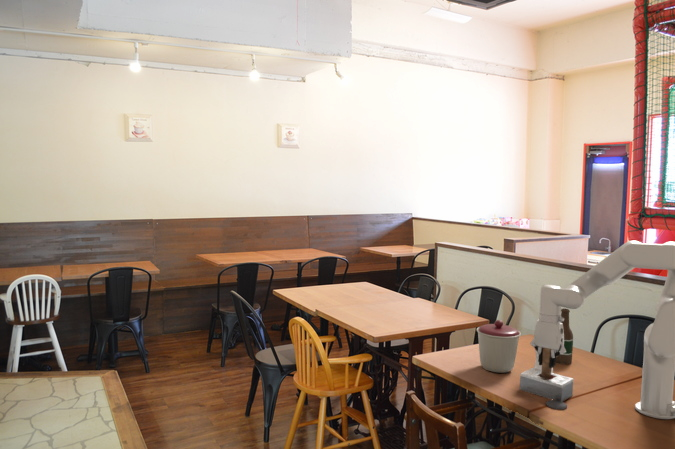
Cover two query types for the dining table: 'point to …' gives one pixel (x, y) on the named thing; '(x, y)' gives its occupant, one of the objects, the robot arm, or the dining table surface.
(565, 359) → the beer bottle
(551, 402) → the coaster
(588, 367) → the dining table surface
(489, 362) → the canister
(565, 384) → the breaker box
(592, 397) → the dining table surface
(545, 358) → the brown wooden block
